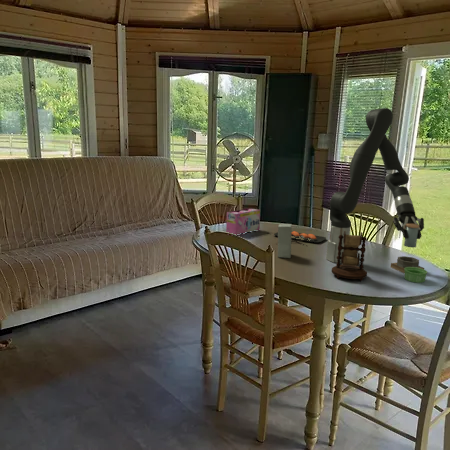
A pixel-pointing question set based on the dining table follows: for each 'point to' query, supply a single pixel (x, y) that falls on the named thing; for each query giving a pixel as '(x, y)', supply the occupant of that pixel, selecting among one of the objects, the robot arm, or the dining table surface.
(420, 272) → the ramekin
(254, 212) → the gum box
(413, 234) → the canister
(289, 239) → the skincare box
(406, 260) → the socket
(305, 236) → the sushi plate
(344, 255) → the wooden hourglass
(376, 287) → the dining table surface
